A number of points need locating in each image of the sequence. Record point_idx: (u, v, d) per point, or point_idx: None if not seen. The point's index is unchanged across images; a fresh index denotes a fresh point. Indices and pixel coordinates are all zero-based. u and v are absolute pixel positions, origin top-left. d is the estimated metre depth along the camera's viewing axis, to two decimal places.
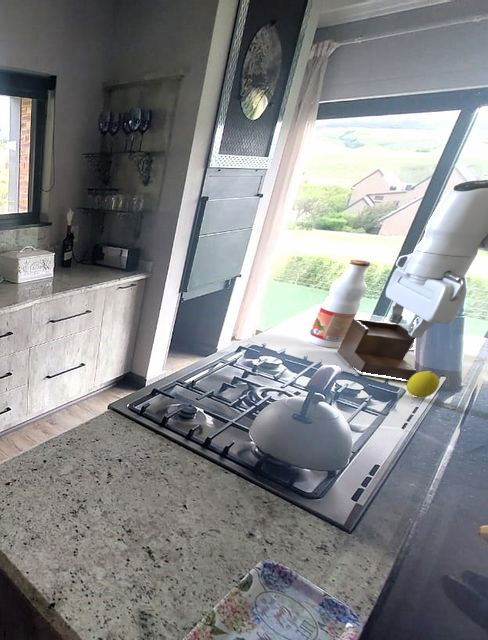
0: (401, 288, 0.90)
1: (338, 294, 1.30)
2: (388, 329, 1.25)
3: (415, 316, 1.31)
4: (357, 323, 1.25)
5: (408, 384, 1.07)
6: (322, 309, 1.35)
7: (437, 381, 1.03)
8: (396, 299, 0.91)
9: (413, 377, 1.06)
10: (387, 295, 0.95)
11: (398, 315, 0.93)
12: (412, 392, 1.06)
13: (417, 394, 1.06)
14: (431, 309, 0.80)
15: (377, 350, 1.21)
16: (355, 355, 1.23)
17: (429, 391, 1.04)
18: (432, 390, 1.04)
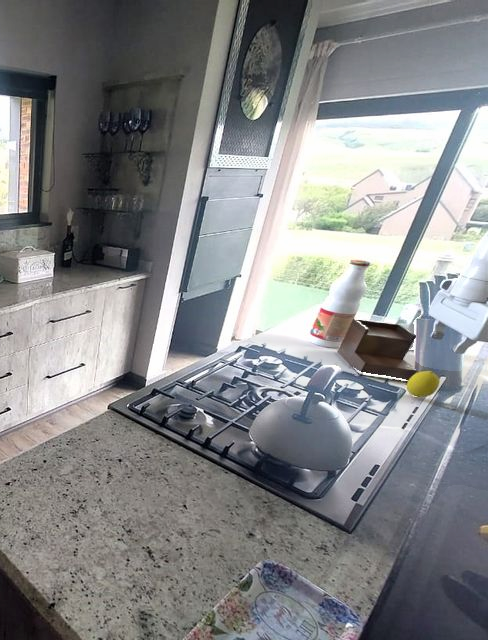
0: (445, 308, 1.01)
1: (338, 294, 1.30)
2: (388, 329, 1.25)
3: (415, 316, 1.31)
4: (357, 323, 1.25)
5: (408, 384, 1.07)
6: (322, 309, 1.35)
7: (437, 381, 1.03)
8: (439, 318, 1.02)
9: (413, 377, 1.06)
10: (430, 314, 1.06)
11: (440, 332, 1.03)
12: (412, 392, 1.06)
13: (417, 394, 1.06)
14: (476, 329, 0.91)
15: (377, 350, 1.21)
16: (355, 355, 1.23)
17: (429, 391, 1.04)
18: (432, 390, 1.04)
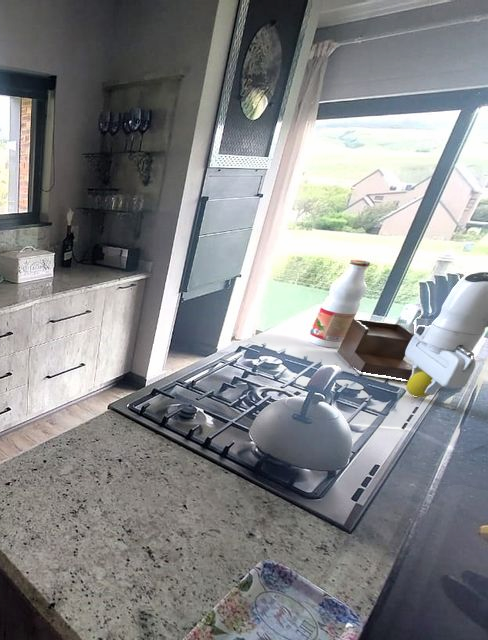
0: (419, 352, 1.07)
1: (338, 294, 1.30)
2: (388, 329, 1.25)
3: (415, 316, 1.31)
4: (357, 323, 1.25)
5: (408, 384, 1.07)
6: (322, 309, 1.35)
7: None
8: (414, 361, 1.08)
9: (413, 377, 1.06)
10: (406, 356, 1.11)
11: None
12: (412, 392, 1.06)
13: (417, 394, 1.06)
14: (446, 376, 0.96)
15: (377, 350, 1.21)
16: (355, 355, 1.23)
17: None
18: None
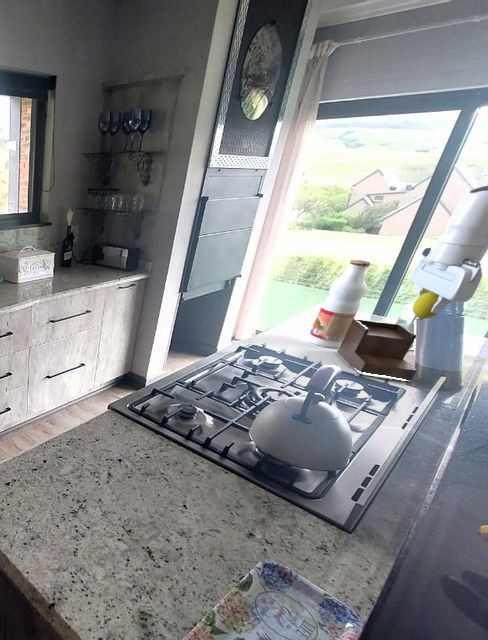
0: (425, 274, 1.08)
1: (338, 294, 1.30)
2: (388, 329, 1.25)
3: (415, 316, 1.31)
4: (357, 323, 1.25)
5: (414, 306, 1.08)
6: (322, 309, 1.35)
7: None
8: (420, 283, 1.09)
9: (419, 298, 1.07)
10: (412, 281, 1.13)
11: None
12: (418, 313, 1.08)
13: (423, 315, 1.07)
14: (453, 290, 0.98)
15: (377, 350, 1.21)
16: (355, 355, 1.23)
17: None
18: None
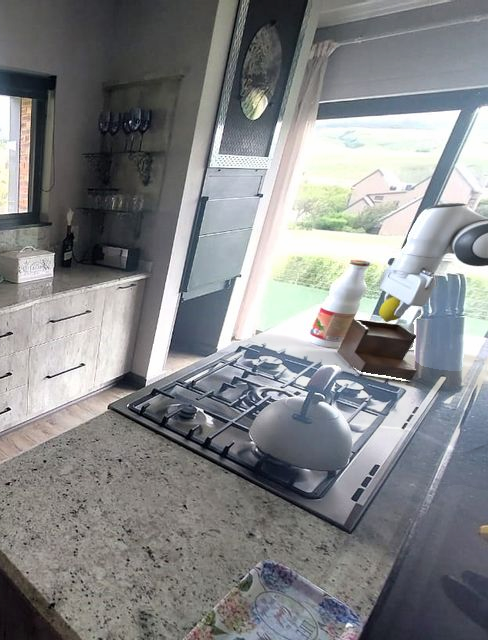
0: (390, 281, 1.20)
1: (338, 294, 1.30)
2: (388, 329, 1.25)
3: (415, 316, 1.31)
4: (357, 323, 1.25)
5: (380, 309, 1.21)
6: (322, 309, 1.35)
7: None
8: (386, 289, 1.21)
9: (384, 303, 1.20)
10: (380, 287, 1.25)
11: None
12: (383, 316, 1.20)
13: (388, 317, 1.19)
14: (410, 296, 1.10)
15: (377, 350, 1.21)
16: (355, 355, 1.23)
17: None
18: None
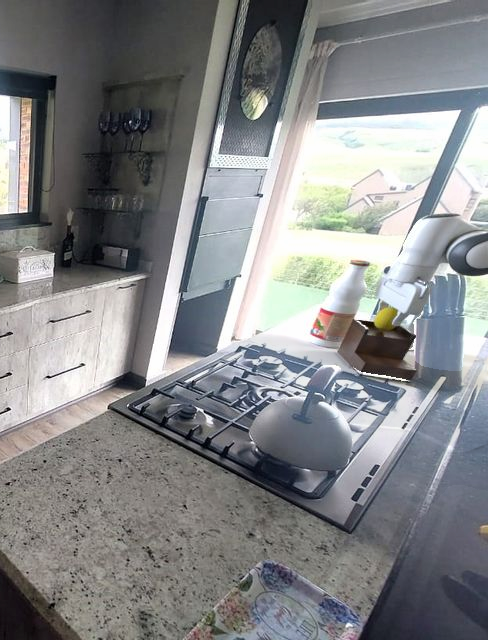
0: (386, 289, 1.22)
1: (338, 294, 1.30)
2: None
3: (415, 316, 1.31)
4: (357, 323, 1.25)
5: (375, 319, 1.22)
6: (322, 309, 1.35)
7: None
8: (382, 297, 1.23)
9: (379, 313, 1.21)
10: (376, 295, 1.26)
11: None
12: (378, 326, 1.22)
13: (383, 327, 1.21)
14: (406, 304, 1.11)
15: (377, 350, 1.21)
16: (355, 355, 1.23)
17: None
18: None
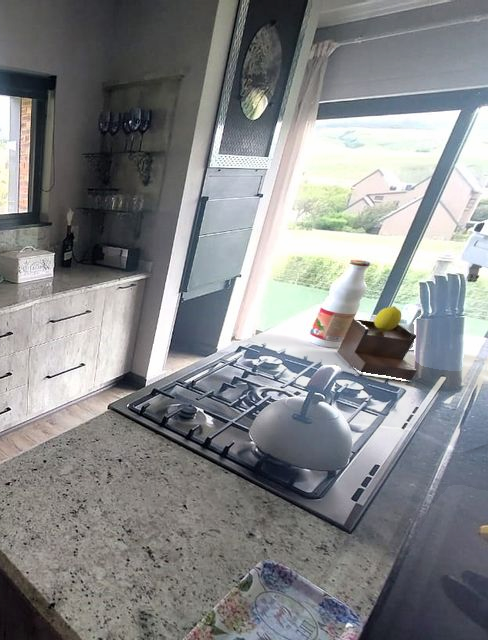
0: (478, 250, 1.04)
1: (338, 294, 1.30)
2: None
3: (415, 316, 1.31)
4: (357, 323, 1.25)
5: (375, 319, 1.22)
6: (322, 309, 1.35)
7: (399, 314, 1.18)
8: (473, 260, 1.05)
9: (379, 313, 1.21)
10: (463, 258, 1.09)
11: (474, 275, 1.06)
12: (378, 326, 1.22)
13: (383, 327, 1.21)
14: None
15: (377, 350, 1.21)
16: (355, 355, 1.23)
17: (393, 323, 1.19)
18: (395, 322, 1.19)
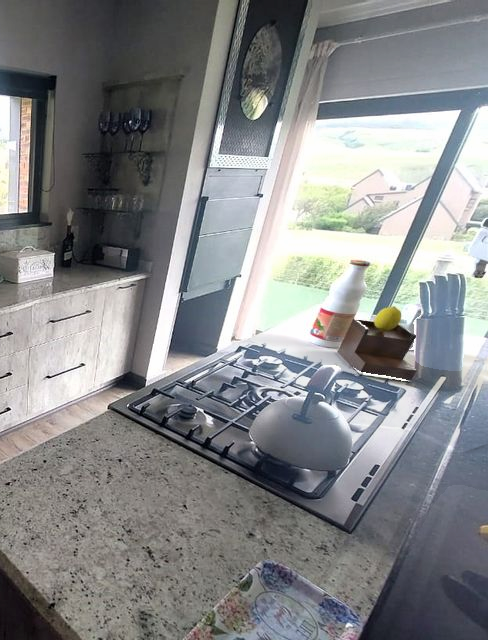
0: (486, 246, 1.03)
1: (338, 294, 1.30)
2: None
3: (415, 316, 1.31)
4: (357, 323, 1.25)
5: (375, 319, 1.22)
6: (322, 309, 1.35)
7: (399, 314, 1.18)
8: (481, 256, 1.04)
9: (379, 313, 1.21)
10: (470, 254, 1.07)
11: (481, 271, 1.05)
12: (378, 326, 1.22)
13: (383, 327, 1.21)
14: None
15: (377, 350, 1.21)
16: (355, 355, 1.23)
17: (393, 323, 1.19)
18: (395, 322, 1.19)
